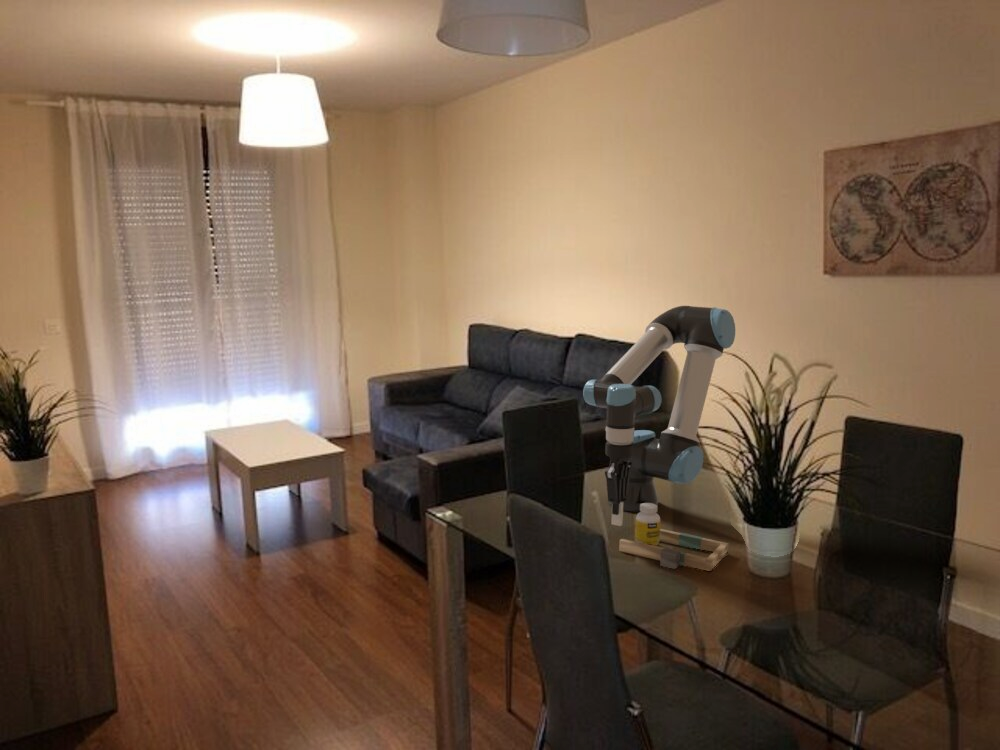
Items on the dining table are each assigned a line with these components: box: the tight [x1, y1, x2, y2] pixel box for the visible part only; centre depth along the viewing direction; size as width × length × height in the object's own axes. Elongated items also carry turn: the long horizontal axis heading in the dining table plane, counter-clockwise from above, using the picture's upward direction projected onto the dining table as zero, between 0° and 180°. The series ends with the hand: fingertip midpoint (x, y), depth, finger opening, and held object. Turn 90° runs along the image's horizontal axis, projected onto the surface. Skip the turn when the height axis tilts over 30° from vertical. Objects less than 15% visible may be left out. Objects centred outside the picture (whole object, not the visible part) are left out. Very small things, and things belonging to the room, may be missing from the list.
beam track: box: [618, 528, 729, 570], centre depth 216 cm, size 18×25×4 cm
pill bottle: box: [634, 503, 661, 547], centre depth 220 cm, size 6×6×12 cm
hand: (616, 524), depth 225 cm, fingers closed
